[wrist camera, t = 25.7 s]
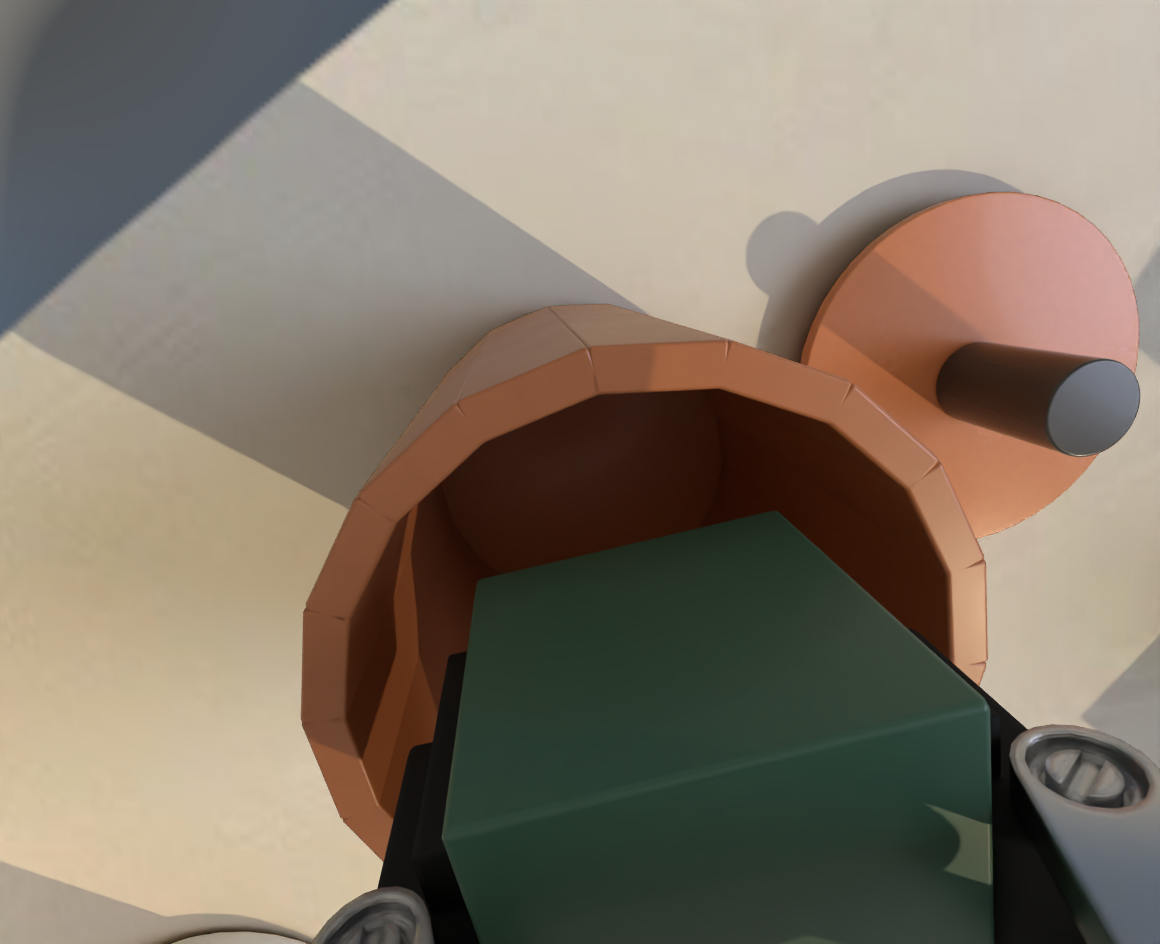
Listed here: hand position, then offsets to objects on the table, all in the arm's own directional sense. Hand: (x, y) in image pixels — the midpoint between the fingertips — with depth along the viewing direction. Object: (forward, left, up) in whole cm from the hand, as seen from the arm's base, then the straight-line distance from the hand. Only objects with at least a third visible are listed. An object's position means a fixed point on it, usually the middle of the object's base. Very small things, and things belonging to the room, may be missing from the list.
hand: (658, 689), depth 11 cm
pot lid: (+14, 0, -13) cm, 19 cm away
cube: (0, 0, 0) cm, 0 cm away
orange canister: (0, 0, -13) cm, 13 cm away
